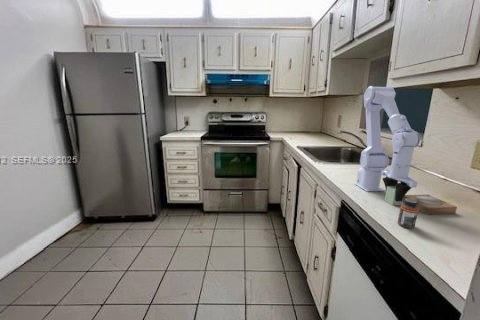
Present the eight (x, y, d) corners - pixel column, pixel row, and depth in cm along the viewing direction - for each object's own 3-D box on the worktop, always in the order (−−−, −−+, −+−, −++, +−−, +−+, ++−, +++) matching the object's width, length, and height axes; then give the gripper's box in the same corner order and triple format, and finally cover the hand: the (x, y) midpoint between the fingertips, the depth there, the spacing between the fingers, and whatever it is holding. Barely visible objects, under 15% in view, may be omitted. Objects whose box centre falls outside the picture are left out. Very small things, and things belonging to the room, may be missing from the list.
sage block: (384, 200, 89) (387, 186, 88) (393, 200, 89) (396, 186, 88) (392, 205, 85) (395, 190, 84) (401, 204, 86) (405, 189, 84)
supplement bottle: (397, 220, 74) (403, 196, 72) (414, 225, 71) (420, 200, 69) (396, 225, 71) (401, 200, 68) (414, 230, 68) (420, 204, 66)
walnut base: (401, 201, 89) (402, 194, 88) (426, 200, 90) (428, 194, 89) (427, 214, 78) (428, 207, 78) (455, 213, 79) (457, 206, 79)
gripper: (377, 159, 90) (371, 191, 93) (407, 170, 76) (399, 207, 79) (393, 159, 91) (387, 191, 94) (425, 169, 77) (417, 206, 80)
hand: (393, 198), depth 87 cm, fingers closed on sage block, 4 cm apart
